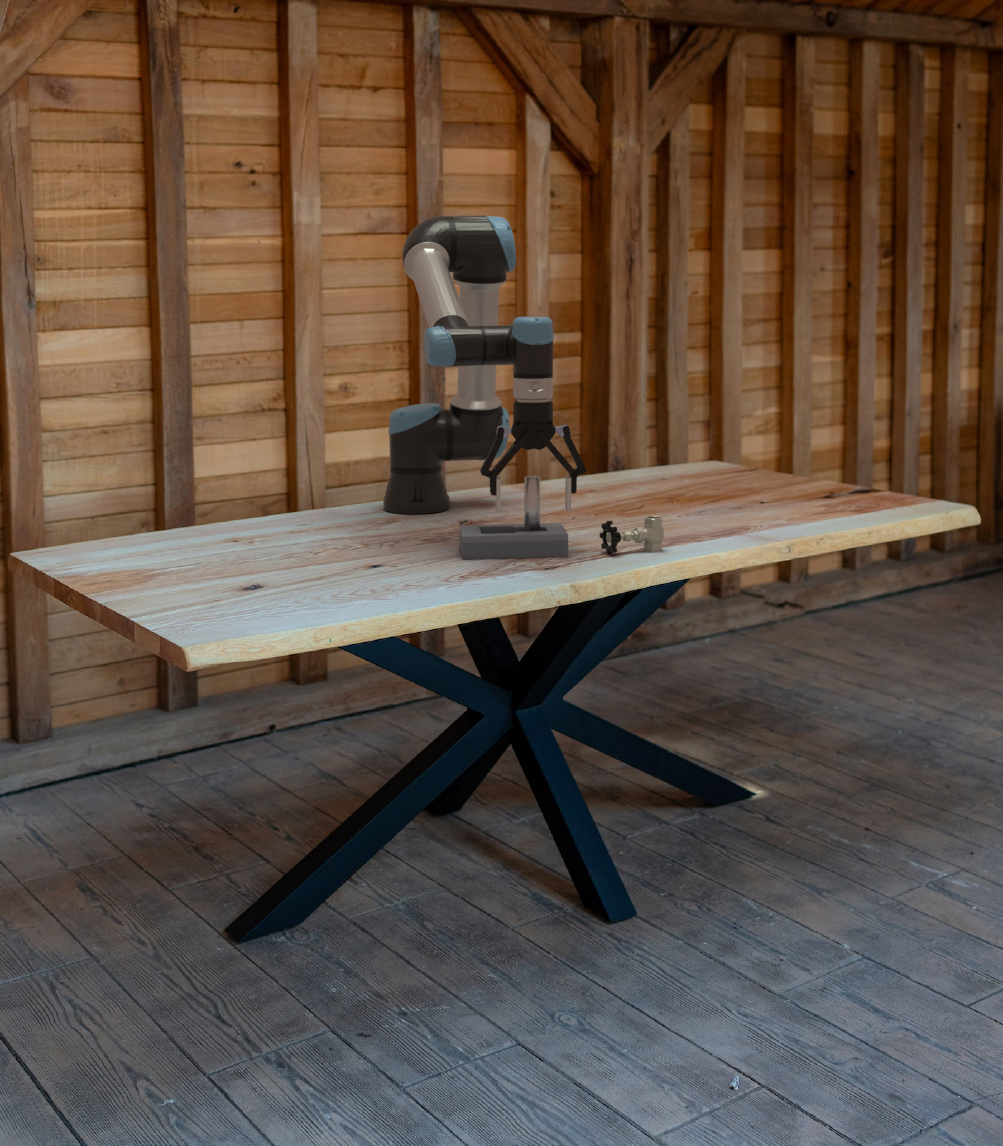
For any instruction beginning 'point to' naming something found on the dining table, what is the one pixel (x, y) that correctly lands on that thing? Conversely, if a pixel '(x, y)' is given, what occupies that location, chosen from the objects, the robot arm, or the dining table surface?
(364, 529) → the dining table surface
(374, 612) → the dining table surface
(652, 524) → the valve
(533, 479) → the flanged metal peg
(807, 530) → the dining table surface
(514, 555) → the keyhole board
